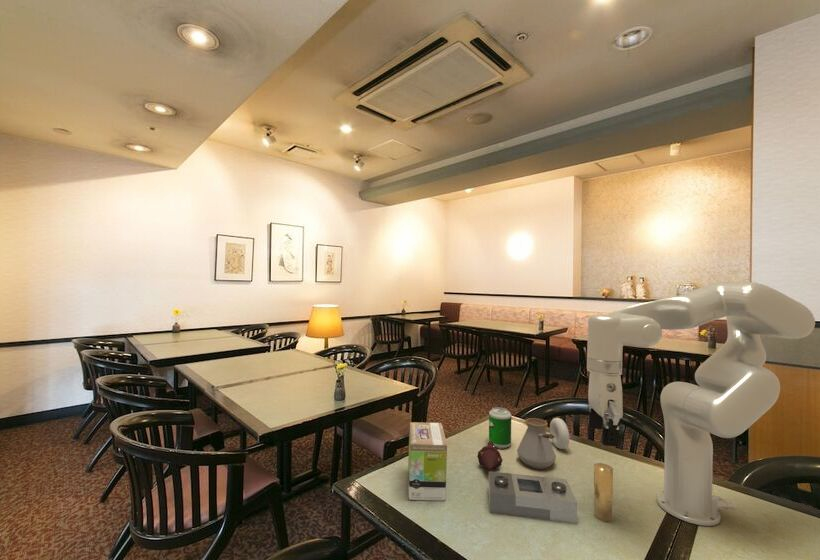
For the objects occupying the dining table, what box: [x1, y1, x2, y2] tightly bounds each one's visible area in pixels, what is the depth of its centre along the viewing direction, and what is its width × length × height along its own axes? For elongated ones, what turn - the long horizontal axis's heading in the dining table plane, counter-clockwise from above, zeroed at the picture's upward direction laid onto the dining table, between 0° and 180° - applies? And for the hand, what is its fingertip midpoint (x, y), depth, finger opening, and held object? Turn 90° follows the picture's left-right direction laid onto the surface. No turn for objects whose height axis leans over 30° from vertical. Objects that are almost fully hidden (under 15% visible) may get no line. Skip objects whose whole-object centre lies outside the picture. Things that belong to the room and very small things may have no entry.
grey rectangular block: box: [487, 470, 578, 524], centre depth 91 cm, size 20×10×6 cm, turn 80°
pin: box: [593, 462, 614, 523], centre depth 87 cm, size 4×4×12 cm
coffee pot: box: [516, 417, 558, 470], centre depth 107 cm, size 21×12×15 cm, turn 177°
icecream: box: [477, 440, 503, 471], centre depth 108 cm, size 7×7×15 cm
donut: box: [549, 417, 571, 450], centre depth 122 cm, size 10×4×10 cm, turn 4°
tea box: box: [407, 421, 448, 501], centre depth 99 cm, size 15×10×15 cm
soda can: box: [488, 407, 512, 450], centre depth 124 cm, size 8×8×12 cm
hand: (602, 436), depth 87 cm, fingers open, 9 cm apart
